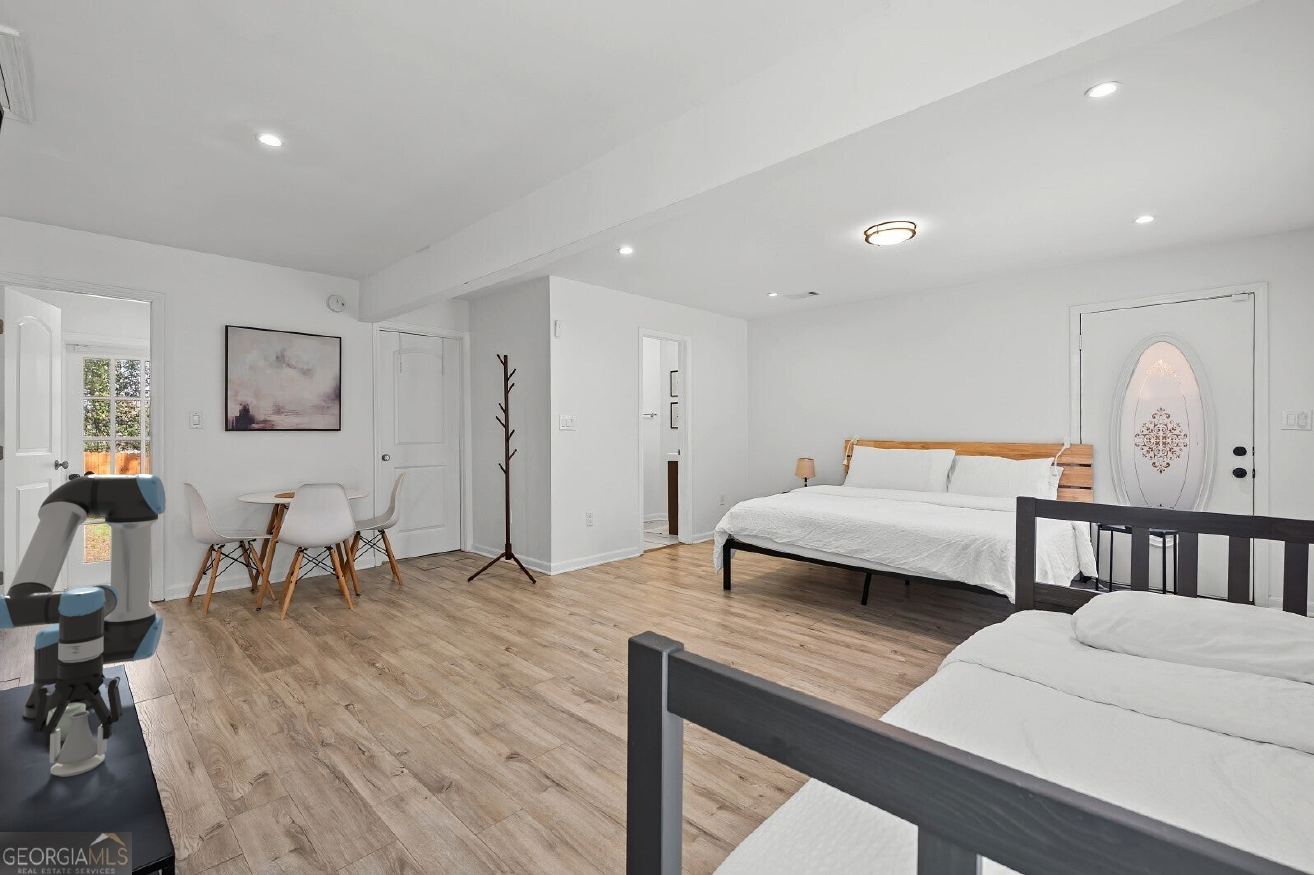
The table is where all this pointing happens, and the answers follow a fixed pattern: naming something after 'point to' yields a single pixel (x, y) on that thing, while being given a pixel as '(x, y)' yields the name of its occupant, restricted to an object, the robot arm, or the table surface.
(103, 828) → the table surface
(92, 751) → the flask
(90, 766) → the dish
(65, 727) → the white cylindrical tub
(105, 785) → the table surface
